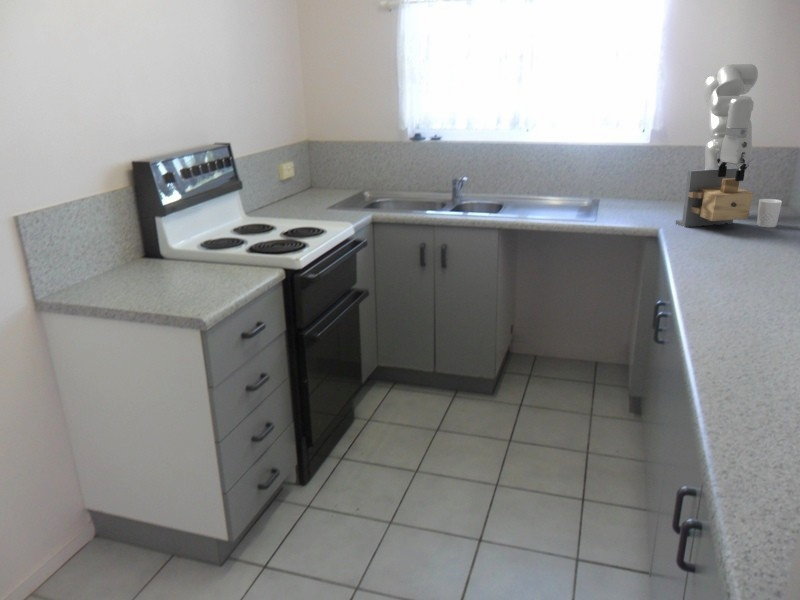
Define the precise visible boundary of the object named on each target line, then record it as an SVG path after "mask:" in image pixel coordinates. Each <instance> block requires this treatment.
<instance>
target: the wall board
mask: <svg viewBox="0 0 800 600" xmlns="http://www.w3.org/2000/svg"><path fill="white" fill-rule="evenodd" d="M737 170H738V168H737V167H727V170H726V176H725V177H718V169H705V168H704V169H692V170H691V169H690V170H688V171H687V178H686V184H685V185H686V188H685V195H684V202H683V203H684V205H683V210H682V211H683V212H682V219H677V220H675V225H677V224H678V226H680V225H681V226H680V227H683V226H684V228H689V226H691V227H700V226H701V225H704V226H713V224H716V225H726V224H725V223H728V224H733V223H734V219H733V220H720V221H710V220H708V219H705V218H703V217H700V213H701V208H702V202H703V196H704V192H699V189H700V188H712V187H721V184H722V179H726V178H735V177H736V171H737ZM701 227H702V226H701Z"/></svg>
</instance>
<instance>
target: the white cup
mask: <svg viewBox="0 0 800 600" xmlns="http://www.w3.org/2000/svg"><path fill="white" fill-rule="evenodd" d="M782 203H783V201H782V200H780V199H775V198H762V199H761V198H760V199H759V200H758V209H757V219H756V220H757V221H756V226H757V227H762V228H776V227H777V225H778V220H779V217H780V214H781V208H782V205H783V204H782Z"/></svg>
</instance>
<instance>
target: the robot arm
mask: <svg viewBox="0 0 800 600" xmlns="http://www.w3.org/2000/svg"><path fill="white" fill-rule="evenodd" d="M758 77H759V71H758V68H757V66H756V65H755V64H753V63H737V64H734V63H733V64H732V63H731V64H726V65H723V66H721V68H720V69H719V70H718V71H717V74H715V73H714V74H713V75H712V74H711V75H710V76H708V77H707V78H706V79H705V82H704V83H703V84H704V86H703V92H704V93H703V94H704V100H705V103H706V106H707V108H708V132H709V134H708V135H709V136H710V138H711V139H712V140H708V142H706V144H705V147H704V158H705V159H704V161H705V163H704V170H705V169H718V177H725V176H726V170H727V168H728V166H727V165H728V164H731V165H735V166H736V168H738V170H737V171H736V177H735V181H739V182H743V181H744V179H745V172H746V170H747V168H748V167H749V165H750V164H751V163H752V162H751V161H752V158H751V157H752V153H753V127H752V121H751V117H752V112H753V109H754V104H755V103H754V100H753V99H752V97H751V96H748V95H746V94H748V93H749V92H750V91H751V89H752V88H754V86H755V85H756V83H757V80H758Z"/></svg>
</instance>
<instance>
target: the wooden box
mask: <svg viewBox="0 0 800 600" xmlns="http://www.w3.org/2000/svg"><path fill="white" fill-rule="evenodd" d="M739 185H740V181H735V178H726V179H722V184H721V187H712V188H700V189H699V192H704V196H703V202H702V208H701V213H700V217H703V218H705V219H708V220H710V221H720V220H733V221H734V220H743V219H744V220H745V219H749V215H750V212H751V207H752V206H751V205H752V201H753V197H754V192H753V191H749V190H746V189H743V188H739Z"/></svg>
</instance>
